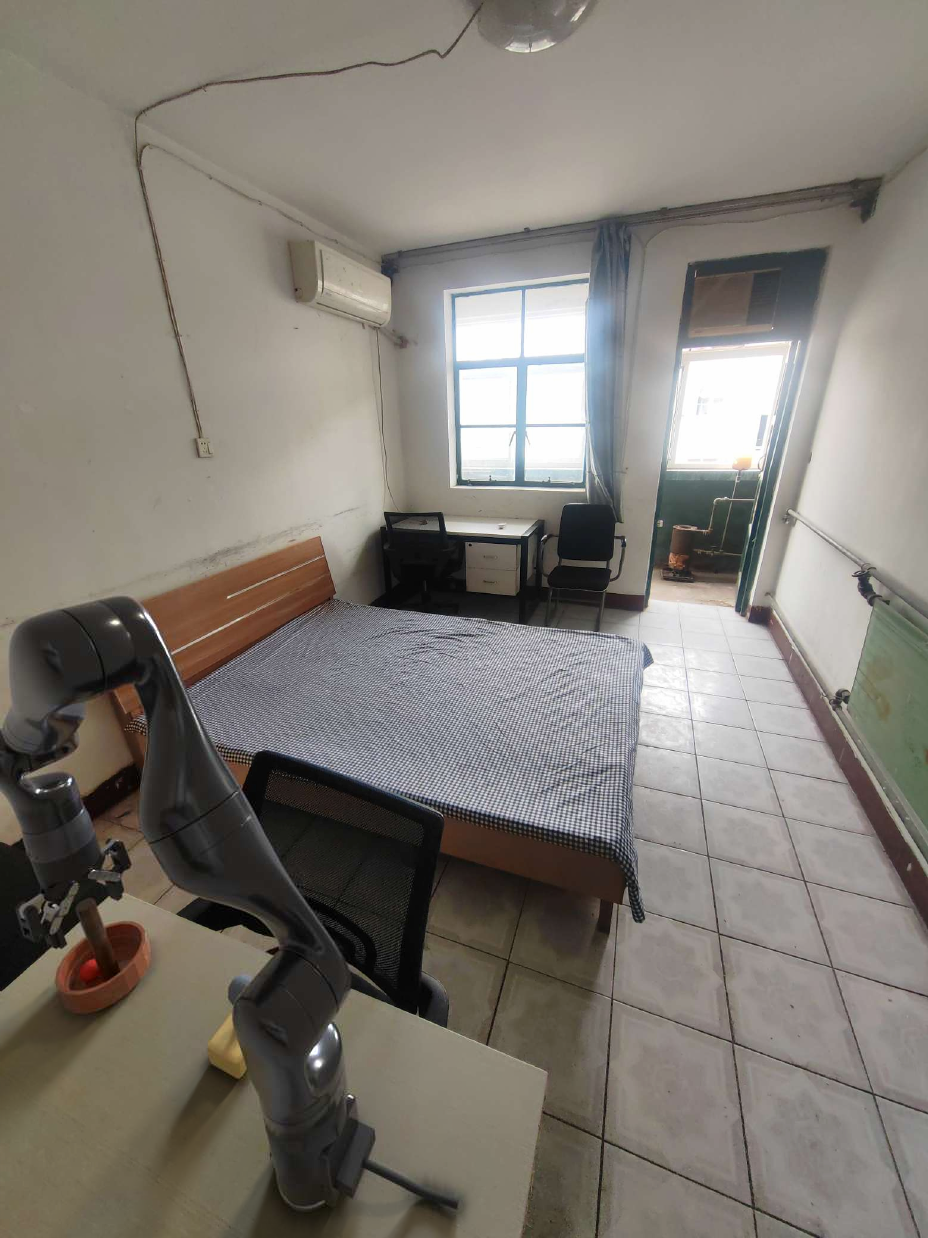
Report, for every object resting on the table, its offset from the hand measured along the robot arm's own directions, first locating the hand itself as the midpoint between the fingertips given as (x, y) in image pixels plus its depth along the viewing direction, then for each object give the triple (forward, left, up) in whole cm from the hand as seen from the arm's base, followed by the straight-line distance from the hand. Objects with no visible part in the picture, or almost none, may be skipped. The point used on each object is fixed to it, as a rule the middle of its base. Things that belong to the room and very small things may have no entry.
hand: (90, 920), depth 74 cm
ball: (+2, +1, -11) cm, 11 cm away
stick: (-1, 0, -12) cm, 12 cm away
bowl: (0, 0, -13) cm, 13 cm away
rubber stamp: (-28, -1, -13) cm, 31 cm away
